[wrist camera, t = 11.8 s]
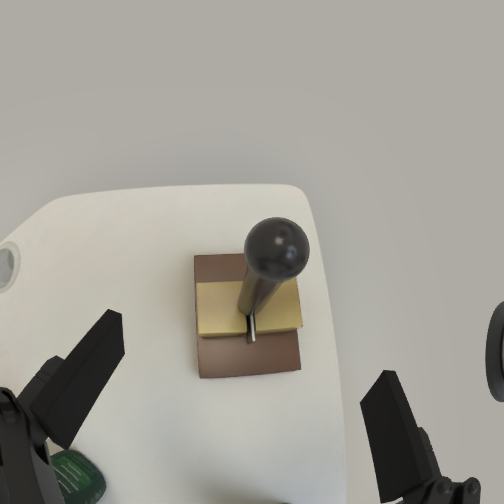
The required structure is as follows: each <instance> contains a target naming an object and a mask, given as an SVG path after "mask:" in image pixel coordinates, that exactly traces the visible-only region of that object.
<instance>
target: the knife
mask: <svg viewBox="0 0 504 504" xmlns="http://www.w3.org/2000/svg"><path fill="white" fill-rule="evenodd" d="M309 251H310V249H309V242H308V239H307V236H306V234H305V233H304V231H303V230H302V229H301V227H300V226H298V225H297V224H296V223H294V222H293V221H291V220H288V219H285V218H281V217H273V218H268V219H265V220H263V221H261V222H259V223H258V224H256V225H255V226H254V227H253V228H252V229H251V231H250V232H249V234H248V235H247V238H246V240H245V245H244V256H245V260H246V263H247V268H246V271H245V274H244V278H243V283H242V287H241V291H240V294H239V298H238V308H239V310H240V311H241V312H242V313H243V314H245V315H246V320H247V343H248V344H250V343H252V342H254V341H255V333H254V322H253V316H254V315H257V314H259V313H260V312H261V311H262V309H263V308H264V307H265V305H266V304H267V303H268V302H269V300H270V299H271V298H272V296H273V295H274V294H275V293H276V291H277V290H278V289H279V287H280V286H281V285H282V283H283V282H286V281H289V280H291V279H293V278H295V277H296V276H297V275H299V274H300V273H301V272H302V270H303V269H304V268H305V266H306V264H307V261H308V258H309Z"/></svg>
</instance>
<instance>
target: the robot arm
mask: <svg viewBox="0 0 504 504" xmlns="http://www.w3.org/2000/svg"><path fill="white" fill-rule="evenodd" d="M124 354H125V351H124V340H123V327H122V314H121V313H118V312H115V311H113V310H110V309H108V310H107V311H106V312H105V313H104V314H103V315H102V317H101V318H100V319H99V320H98V321H97V322H96V323H95V324H94V326H93V327H92V328H91V329H90V330H89V331H88V332H87V334H86V335H85V336H84V337H83V338H82V339H81V341H80V342H79V343H78V344H77V345H76V347H75V348H74V349H73V350H72V351H71V353H70V354H69V355H68V356H67V358H66V359H65V360H64V359H62V358H60V357H58V356H57V355H56V356H54V357H53V358H51V359H49V360H47V361H46V362H45V364H44V365H43V366H42V367H41V368H40V370H39V371H38V372H37V373H36V374H35V376H34V377H33V378H32V379H31V381H30V382H29V383H28V384H27V386H26V387H25V388H24V389H23V391H22V392H21V393H20V395H19V396H18V397H17V398H16V397H15V395H14V394H13V393H12V391H11V390H9V389H7V388H4V387H0V504H10V496H11V500H12V503H13V504H65V501H64V499H63V496H62V493H61V491H60V488H59V485H58V482H57V479H56V476H55V472H54V469H53V465H52V462H51V458H50V454H49V450H48V446H47V443H46V439H47V438H48V436H49V438H50V439H51V440H52V441H53V442H54V443H55V444H57V445H59V446H60V447H62V448H63V449H65V450H67V451H68V449H69V447H70V445H71V443H72V442H73V440H74V438H75V436H76V434H77V433H78V431H79V429H80V427H81V425H82V424H83V422H84V420H85V418H86V417H87V415H88V413H89V412H90V410H91V408H92V406H93V405H94V403H95V401H96V400H97V398H98V396H99V395H100V393H101V391H102V390H103V388H104V386H105V385H106V383H107V382H108V380H109V378H110V377H111V375H112V373H113V372H114V370H115V369H116V367H117V365H118V364H119V362H120V361H121V359H122V358H123V356H124ZM500 366H501V371H502V375H503V378H504V328H503V331H502V335H501V342H500ZM360 405H361V410H362V414H363V418H364V422H365V426H366V430H367V435H368V439H369V444H370V448H371V453H372V458H373V463H374V468H375V473H376V478H377V484H378V489H379V496H380V502H381V503H386V502H391V501H394V500H396V499H398V498H400V497H403V500H402V501H400V502H398V503H396V504H480V491H481V486H480V483H479V481H478V480H477V479H476V478H474V477H470V478H469V479H467V480H466V481H464V482H463V483H460V482H459V483H458V482H452V481H451V479H449V478H448V477H445V476H443V477H442V475H441V473H440V469H439V467H438V463H437V460H436V457H435V455H434V452H433V451H432V450H433V448H432V445H430V440H429V437H428V434H427V433H426V432H425V431H424V429H423V428H422V427H417V424H416V421H415V419H414V416H413V413H412V411H411V408H410V406H409V403H408V401H407V398H406V396H405V393H404V391H403V388H402V386H401V384H400V382H399V379H398V376H397V374H396V372H395V371H390V370H383V372H382V373H381V375H380V376H379V378H378V379H377V381H376V382H375V383H374V385H373V386H372V387H371V389H370V390H369V391H368V393H367V394H366V395H365V397H364V398H363V399H362V401H361V402H360ZM9 493H10V495H9Z"/></svg>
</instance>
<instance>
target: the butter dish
mask: <svg viewBox="0 0 504 504" xmlns="http://www.w3.org/2000/svg"><path fill="white" fill-rule="evenodd" d="M246 268H247V263H246V260H245V256H244V254H221V255H196V256H194V272H195V308H196V330H197V347H198V362H199V375H200V378H222V377H238V376H250V375H261V374H270V373H279V372H287V371H294V370H301V364H300V354H299V345H298V336H297V329H298V328H300V327H302V326H303V325H302V317H301V309H300V301H299V294H298V286H297V279H296V278H293V279H291V280H289V281H286V282H283V283H282V285H281V286H280V287H279V289H278V290H277V291H276V293H275V294H274V295H273V296H272V298H271V299H270V300H269V302H268V303H267V304H266V305H265V307H264V308H263V309H262V311H261V312H260V313H259V314H257V315H254V316H253V322H254V333H255V341H254V342H252V343H250V344H248V343H247V320H246V315H245V314H243V313H242V312H241V311H240V310H239V308H238V298H239V294H240V291H241V287H242V283H243V278H244V274H245V271H246Z"/></svg>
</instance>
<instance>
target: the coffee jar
mask: <svg viewBox="0 0 504 504" xmlns="http://www.w3.org/2000/svg"><path fill="white" fill-rule="evenodd" d="M50 458H51V462H52V465H53V469H54V472H55V476H56V479H57V482H58V485H59V488H60V491H61V493H62V496H63V499H64V501H65V504H96V503H97V502H98V501H99V499H100V498H101V497H102V495H103V494H104V492H105V489H106V482H105V480H104V478H103V476H102V475H101V473H100V472H99V471H98V470H97V469H96V468H95V467H94V466H93V465H92V464H91V463H90V462H89V461H87V460H86V459H85V458H84V457H82V456H81V455H79V454H78V453H76V452H74V451H72V450H68V451H67V450H63V451H61V452H59V453H56V454H54V455H52V456H50ZM9 495H10V493H9ZM10 504H13V503H12V500H11V496H10Z"/></svg>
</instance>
